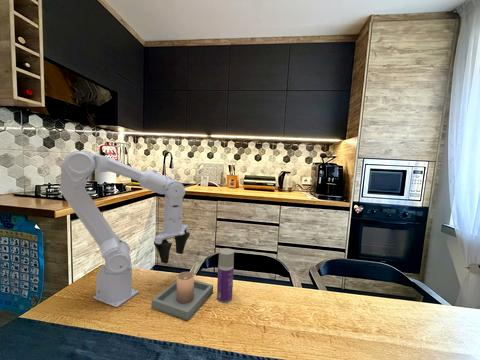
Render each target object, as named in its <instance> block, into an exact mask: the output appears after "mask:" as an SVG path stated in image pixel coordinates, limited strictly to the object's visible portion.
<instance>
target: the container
mask: <svg viewBox="0 0 480 360" xmlns="http://www.w3.org/2000/svg"><path fill="white" fill-rule="evenodd" d="M234 257H235V251H234V249H232V248H227V247H225V248H221V249H220V250H219V252H218V262H217V263H218V265H217V285H216V287H217V289H216V294H217V295H216V300H217V301H218V302H220V303H222V304H228V303H230V302H232V300H233V286H234V268H235V267H234V264H235V263H234V261H235V258H234Z"/></svg>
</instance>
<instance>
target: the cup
mask: <svg viewBox="0 0 480 360" xmlns="http://www.w3.org/2000/svg"><path fill="white" fill-rule="evenodd" d="M176 280H177V298H176V300H177V302H178V303H181V304H186V303H190V302H191V301H192V300H193V299H194V280H195V274H194V273H193V272H191V271H183V272H180V273H178V274H177V275H176Z"/></svg>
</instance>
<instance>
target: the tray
mask: <svg viewBox="0 0 480 360" xmlns="http://www.w3.org/2000/svg"><path fill="white" fill-rule="evenodd" d="M213 293H214V284H211V283H207V282H203V281H200V280H196V279H194V299H193V300H192V301H191V302H190V303H186V304H181V303H178V302H177V300H176V298H177V279H176V280H175V281H174V282H172V283H171V284H170V285H168V287H166V288H165V289H164V290H162V291H161V292H160V293H158V294H157V295H156V296H155V297H153V298H152V299H151V301H150V302H151V305H150V306H151V307H150V308H151V309H152V310H155V311H157V312H161V313H163V314H166V315H168V316H171V317H174V318H176V319H180V320H183V321H185V322H189V321H190V319H191V318H192V317H193V316H194V315H195V314H196V313H197V312H198V310H199V309H200V308H201V307H202V305H204V303H206V301H208V299H209V298H210V296H212V294H213Z"/></svg>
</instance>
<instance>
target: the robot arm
mask: <svg viewBox="0 0 480 360" xmlns="http://www.w3.org/2000/svg"><path fill="white" fill-rule="evenodd" d="M95 170H96V173H106V172H107V173H109V172H111V173H113V174H116V175H118V176H121V177H125V178H127V179H131V180H134V181H137V182H138V183H139V186H140V188H143V189H146V190H148V191H151V192H154V193H157V194H158V195H164V205H163V207H164V209H163V210H164V211H163V230H162V231H160V233H159V234H158V235H156V236H154V240H153V245H154V246H155V248H156V250H157V252H158V255H159V258H160V262H161V263H163V264H165V265H166V264H168V263H169V261H170V260H169V259H170V250H171V248H172V246H173V242H169V241H168V240H169V239H171V238H173V237H174V240H175V241H174V243H175V250H176V251H175V253H177V254H179V255H183V253H184V251H185V247H186V243H187V241H188V238H189V237H190V235H191V233H190V232H189V225H188V224H183V213H184V212H183V210H184V208H183V206H184V204H183V202H184V200H183V199H184V196H185V194H186V192H187V191H186V189H185V186H184V184H183V183H181V182H180V181H178V180H176V179H175V178H173V177H171V176H170V175H169V176H166V175H164V174H160V173H158V170H156V169H154V168H153V169H152V170H151V169H146V170H143V171H142V170H139V169H138V168H135V167H133V166H130V165H127V164H125V163H123V162H121V161H119V160H117V159H114V158H113V157H112V158H111V157H109V156H105V155H102V154H97V153H92V152H90V151H87V150H73V151H72V152H70V153H68V154H67V155H66V156H65V158H64V160H63V161H62V163H61V165H60V172H61V174H60V183H59V184H60V186H59V187H60V188H59V190H60V193H61V195H62V196H63V197H64V199H65V200H66V202H67V204H68V205H69V207H71V209H72V210H73V212H74V213H75V214H76V216H77V217H78V219H79V220H80V222H81V223H82V224H83V226H84V227H85V229H86V230H87V231H88V233H89V234H90V236H91V237H92V239H93V240H94V241H95V243H96V244H97V245H98V246H97V247H99V250H100V254H101V256H102V258H103V259H104V265H102V266H101V267H100V268H99V269H98V271H97V273H96V275H95V276H96V277H95V278H96V280H95V283H96V284H95V285H96V287H95V290H96V291H95V292H96V293H95V294H96V295H94V296H93V299H94V300H96V301H99V302H101V303H105V304H107V305H108V306H109V305H110V306H112V307H114V308H118V307H120V306H121V305H123V304H124V303H125V302H127V301H128V300H130V299H131V298H133V297H134V296H136V295H137V294H138V293H139V290H137V289H135V288H132V287H133V278H132V277H133V263H132V260H131V259H132V258H131V254H130V251H131V250H130V249H131V248H130V245H129V244H128V243H127V242H126V241H124V240H122V239H121V238H120V236H119V235H118V234H116V233H115V231H114V230H113V229H112V227H111V225H110V224H109V222H108V221H107V220H106V218H105V216H104V215H103V214H102V212H101V211H100V208H98V206H97V205H96V202H94V200H93V198H92V197H91V196H90V194H89V192H88V191H87V189H86V186H87V183H88V180H89V178H90V176H91V175H92V174H93V172H94V171H95Z"/></svg>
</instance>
